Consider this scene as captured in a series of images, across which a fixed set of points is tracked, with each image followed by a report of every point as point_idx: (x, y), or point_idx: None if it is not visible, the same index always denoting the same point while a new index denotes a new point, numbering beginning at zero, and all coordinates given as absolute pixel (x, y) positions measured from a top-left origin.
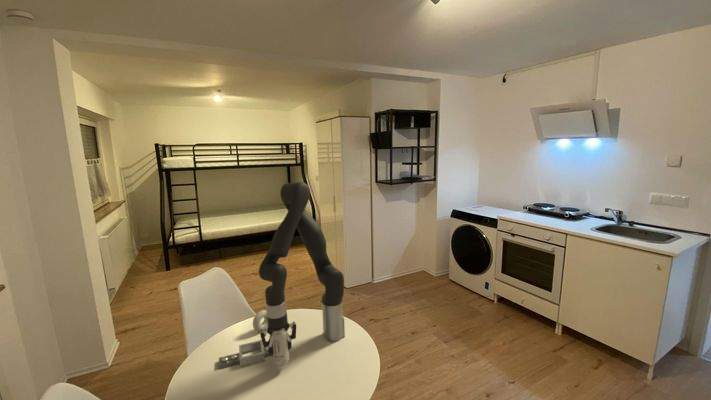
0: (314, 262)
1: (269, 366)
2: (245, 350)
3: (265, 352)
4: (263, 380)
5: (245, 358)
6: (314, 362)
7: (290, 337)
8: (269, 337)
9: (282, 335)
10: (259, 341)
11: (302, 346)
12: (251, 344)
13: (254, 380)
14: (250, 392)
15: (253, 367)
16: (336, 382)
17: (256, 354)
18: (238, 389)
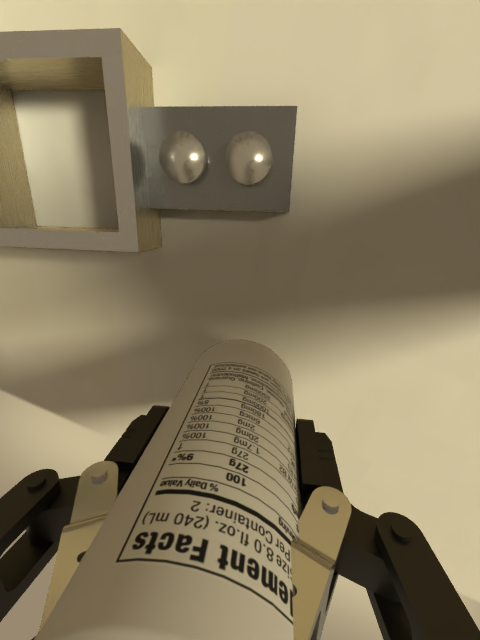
0: None
1: (184, 309)
2: (18, 83)
3: (159, 195)
4: (150, 391)
5: (17, 246)
6: (428, 391)
7: (342, 575)
8: (67, 532)
9: None
10: (95, 52)
11: (433, 205)
12: (33, 62)
13: (110, 372)
14: (98, 428)
15: (98, 277)
16: (451, 538)
17: (84, 243)
18: (46, 392)
